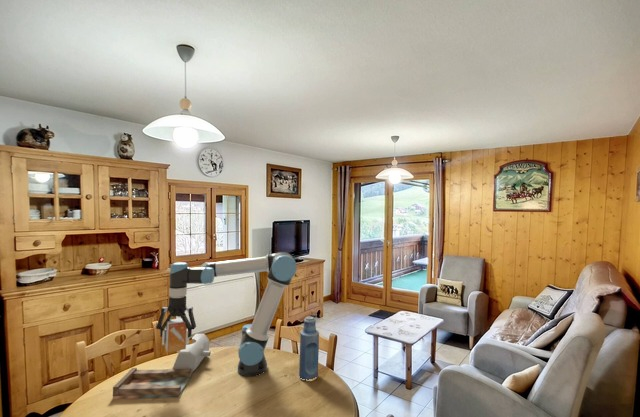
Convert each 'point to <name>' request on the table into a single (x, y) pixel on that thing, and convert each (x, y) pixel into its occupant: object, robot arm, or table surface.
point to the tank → (193, 353)
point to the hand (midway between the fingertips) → (175, 343)
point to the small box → (175, 335)
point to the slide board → (152, 383)
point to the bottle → (309, 349)
